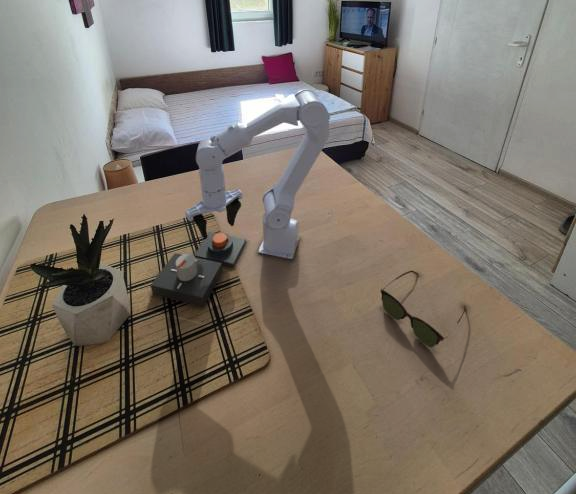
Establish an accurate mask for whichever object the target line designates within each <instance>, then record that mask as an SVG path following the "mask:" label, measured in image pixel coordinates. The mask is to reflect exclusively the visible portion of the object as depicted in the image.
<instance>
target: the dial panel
mask: <svg viewBox="0 0 576 494" xmlns="http://www.w3.org/2000/svg"><path fill="white" fill-rule="evenodd" d="M181 255H183V254H181V253H178V252H177V253H176V252H174V253H173V255H172V256H171V257H170V258H169V260H167V263H166V264H165V265H164V266H163V268H162V269H161V271H160V272H159V273H158V275H157V276H156V277H155V278H154V280H153V281H152V283H151V284H150V290H151V293H152V295H154V296H157V297H162V298H166V299H169V300H174V301H178V302H183V303H186V304H189V305H194V306H198V307H202V308H205V306H206V304H207V302H208V300H209V298H210V297H211V294H212V293H213V291H214V289H215V287H216V285H217V284H218V282H219V280H220V278H221V276H222V274H223V273H224V272H223V271H224V270H223V265H222V263H219V262H215V261H210V260H205V259H201V258H196V257H195V260H196V267H197V274H196V276H195V277H194V278H193V279H191V280H189V281H182V280H180V279H179V278H178V274H177V269H176V260H177V259H178V258H179V257H180V256H181Z"/></svg>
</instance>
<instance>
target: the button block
mask: <svg viewBox="0 0 576 494" xmlns="http://www.w3.org/2000/svg"><path fill="white" fill-rule="evenodd" d="M222 233H223V232H222ZM216 234H218V233H217V232H211V231H209V232H208V233H207V239H203V241H202V242H201V244H200V246H198V249H196V251H195V253H194V254H193V256H194V257H196V258H201V259H205V260H210V261H215V262H219V263H222V266H225V267H231V268H235V265H236V263H237V261H238V259H239V257H240V255H241V254H242V251H243V249H244V247H245V245H246V243H247V238H243V237H237V236H233V235H231V234H229V233H226V232H224V233H223V234H225V235H226V236H227V244H226V245H225V246H224V247H220V248H217V247H215V246H214V245H213V237H214V236H215V235H216Z"/></svg>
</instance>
